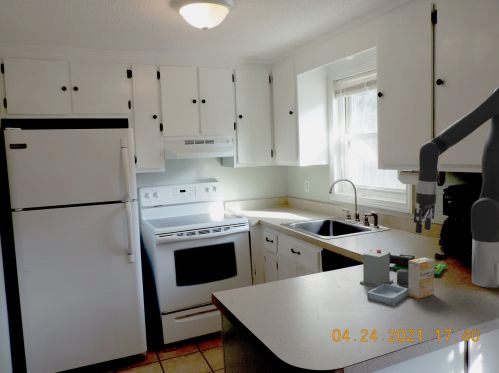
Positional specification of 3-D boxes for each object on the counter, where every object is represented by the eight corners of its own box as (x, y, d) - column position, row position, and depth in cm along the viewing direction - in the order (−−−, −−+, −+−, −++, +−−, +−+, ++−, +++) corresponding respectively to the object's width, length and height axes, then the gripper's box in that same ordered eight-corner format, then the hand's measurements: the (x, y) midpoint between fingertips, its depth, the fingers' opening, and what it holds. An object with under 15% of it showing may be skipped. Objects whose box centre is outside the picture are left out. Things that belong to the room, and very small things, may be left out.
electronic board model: (446, 252, 174) (438, 261, 162) (446, 268, 175) (438, 277, 163) (378, 245, 192) (367, 252, 180) (378, 259, 193) (367, 267, 181)
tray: (408, 295, 145) (408, 288, 144) (392, 305, 136) (392, 298, 136) (383, 289, 151) (383, 283, 151) (367, 298, 143) (367, 292, 142)
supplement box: (419, 299, 140) (419, 263, 139) (407, 295, 145) (407, 260, 144) (434, 295, 144) (435, 259, 143) (423, 291, 148) (423, 256, 147)
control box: (393, 282, 159) (393, 250, 158) (381, 288, 152) (380, 255, 151) (372, 277, 166) (372, 246, 165) (359, 283, 159) (359, 251, 158)
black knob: (410, 283, 157) (410, 270, 157) (405, 286, 154) (405, 273, 154) (399, 280, 161) (399, 268, 160) (394, 283, 158) (394, 271, 157)
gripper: (428, 195, 153) (425, 236, 155) (443, 191, 163) (439, 230, 165) (409, 192, 158) (406, 232, 161) (424, 189, 168) (421, 226, 170)
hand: (423, 231), depth 163 cm, fingers open, 8 cm apart
